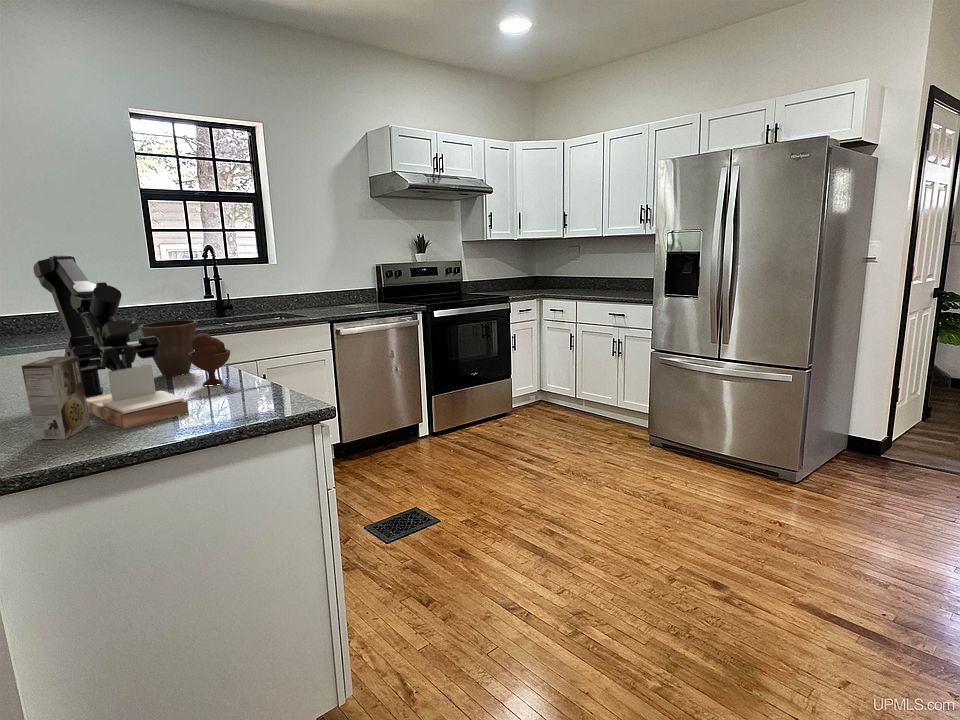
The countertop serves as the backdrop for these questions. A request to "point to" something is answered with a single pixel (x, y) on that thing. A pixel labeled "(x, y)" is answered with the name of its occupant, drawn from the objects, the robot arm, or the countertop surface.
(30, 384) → the coffee box
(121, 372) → the white l-shaped piece
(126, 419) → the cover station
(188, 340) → the plant pot
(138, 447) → the countertop surface
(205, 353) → the ice cream bowl
